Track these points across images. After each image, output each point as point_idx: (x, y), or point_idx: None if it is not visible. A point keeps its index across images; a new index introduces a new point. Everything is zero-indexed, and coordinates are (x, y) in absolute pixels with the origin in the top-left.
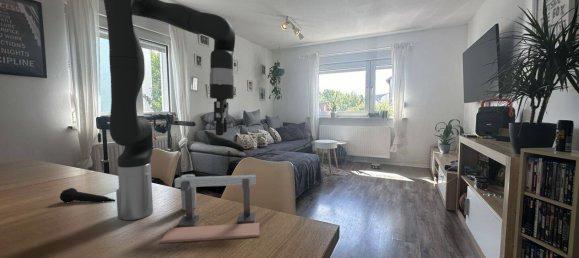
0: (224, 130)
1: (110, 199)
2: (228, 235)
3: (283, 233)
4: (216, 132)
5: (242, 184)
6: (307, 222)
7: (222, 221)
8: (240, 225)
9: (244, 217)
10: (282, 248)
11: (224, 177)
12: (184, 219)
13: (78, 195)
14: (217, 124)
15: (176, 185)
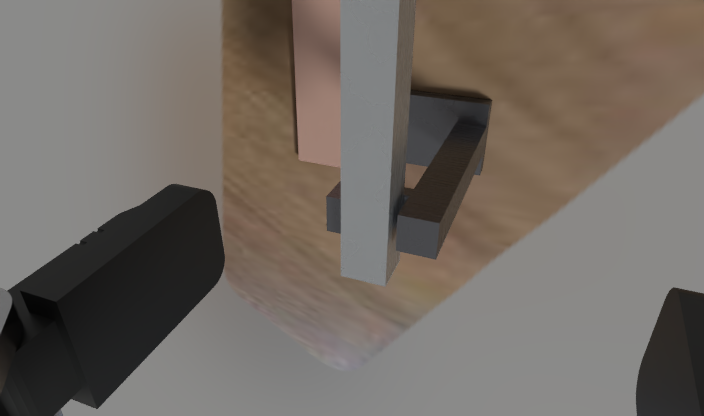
0: (652, 382)
1: None
2: (300, 52)
3: (315, 232)
4: (157, 207)
5: (335, 187)
6: (376, 322)
7: (450, 14)
8: None
9: (432, 124)
10: (239, 206)
11: (351, 97)
12: None
13: None
14: (15, 301)
15: None
